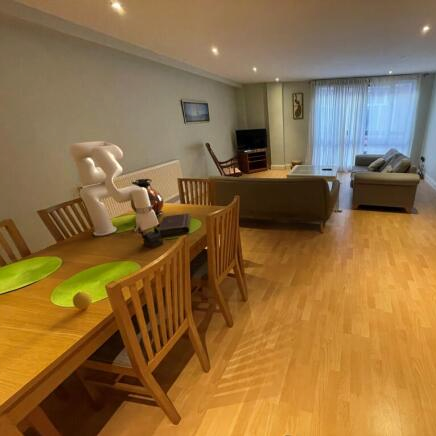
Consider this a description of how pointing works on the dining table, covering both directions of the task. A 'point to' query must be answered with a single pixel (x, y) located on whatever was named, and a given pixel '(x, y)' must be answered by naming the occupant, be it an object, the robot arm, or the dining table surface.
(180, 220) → the diary
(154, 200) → the amphora vase
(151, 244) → the pad base
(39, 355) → the dining table surface
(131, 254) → the dining table surface
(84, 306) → the brown egg shape
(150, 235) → the pad mid
